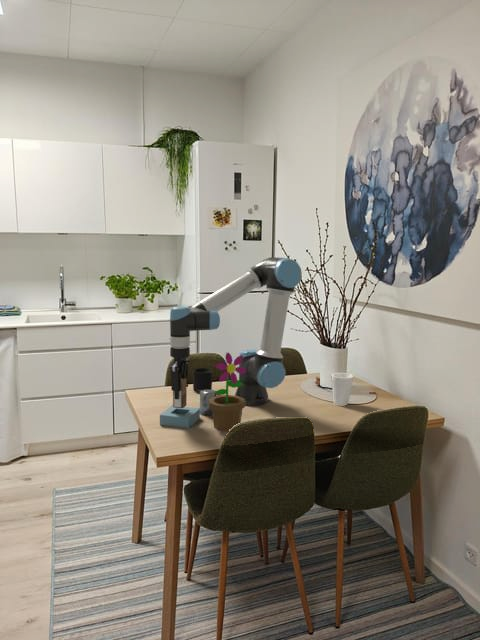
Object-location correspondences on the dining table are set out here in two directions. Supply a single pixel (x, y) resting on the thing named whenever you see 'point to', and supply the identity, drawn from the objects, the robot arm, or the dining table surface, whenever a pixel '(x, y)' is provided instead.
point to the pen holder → (202, 379)
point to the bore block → (180, 417)
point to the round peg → (206, 401)
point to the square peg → (182, 393)
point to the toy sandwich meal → (317, 380)
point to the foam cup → (341, 388)
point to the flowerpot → (228, 397)
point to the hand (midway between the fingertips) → (180, 404)
